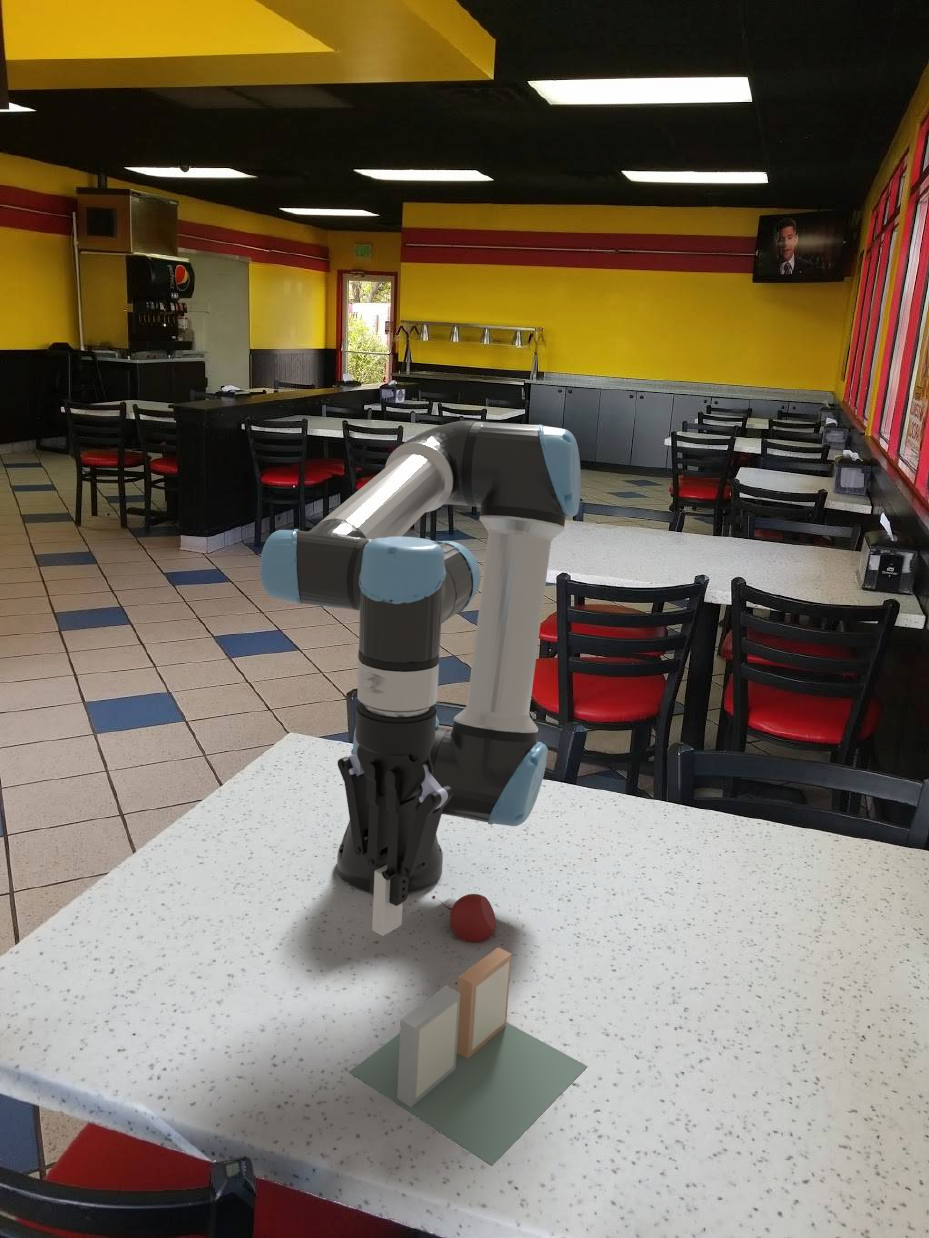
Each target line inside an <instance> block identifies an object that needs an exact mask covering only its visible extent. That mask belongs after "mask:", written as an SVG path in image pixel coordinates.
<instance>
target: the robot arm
mask: <svg viewBox="0 0 929 1238" xmlns="http://www.w3.org/2000/svg"><path fill="white" fill-rule="evenodd" d="M581 475H582V474H581V459H580V453H579V448H578V443H577V440H576V438H575V436H574V435H573V433H572V432H571V431H569V430H568V429H565V428H560V427H554V426H547V425H543V424H522V423H521V424H520V423H508V422H507V423H506V422H503V423H502V422H488V421H478V420H459V421H453V422H448V423H445V424H441V425H438V426H435V427H433V428H430V429H427V430H425V431H423V432H420V433H419V434H416V435H414V436H413V437H410V438H409V439H408V440H406V441H404V442H403V443H402V444H400V445H399V446H398V447H397V448H395V449H394V450H393V451H392V452H391V453H390V455H389V456H388V458H387V459H386V463H385V467H384V468H383V469H382V470H381V471H380V472H379V473H377V474H376V475H375V476H374V477H373V478H371V479H370V480H368V482H367V483H365V484H364V485H363V486H362V487H361V488H359V489H358V490H356V492H355V493H354V494H352V495H350V497H349V498H347V499H346V500H345V501H344V502H342V504H340V505H339V506H337V508H335V509H334V510H333V511H332V512H330V513H329V514H328V515H327V516H326V517H324V518H323V519H322V520H321V521H320V522H318V523H317V525H315V526H314V527H312V528H311V529H310V530H309V531H304V530H300V528H299V529H298V528H295V529H279V530H276V531H274V532H273V533H271V534H270V535H269V536H268V538H267V540H266V541H265V543H264V545H263V548H262V550H261V554H260V560H259V563H260V564H259V570H260V577H261V578H260V582H261V585H262V586H263V589H264V591H265V592H266V593H267V594H268V595H269V596H270V598H271V597H272V598H273V599H276V600H281V601H286V602H290V603H291V602H292V603H296V604H298V605H310V606H311V605H312V606H320V607H328V608H333V609H335V608H337V609H345V610H353V611H359V623H358V625H359V629H358V631H359V632H358V633H359V636H358V639H359V640H358V655H357V656H358V657H357V658H358V662H357V663H358V665H357V671H358V672H357V693H356V694H357V700H358V701H359V704H358V705H357V706H356V710H355V711H356V713H355V728H354V732H353V742H352V743H353V744H352V748H351V751H350V754H349V755H347V756H346V755H345V756H344V757H341V758H339V759H338V760H337V768H338V769H339V773H340V774H341V777H342V780H343V782H344V788H345V789H344V790H345V795H346V801H347V802H346V803H347V809H348V815H349V816H348V817H349V821H348V824H347V826H346V828H345V832H344V834H343V837H342V840H341V843H340V845H339V847H338V849H337V850H338V851H337V857H336V858H337V859H336V860H337V863H336V864H337V865H336V870H337V873H338V876H340V878H341V879H342V880H343V881H344V882H345V883H346V884H347V885H350V886H352V887H354V888H355V889H358V890H361V891H364V892H368V893H370V895H372V896H373V900H372V901H373V903H372V923H371V924H372V925H371V926H372V927H371V929H372V930H371V931H372V932H375V933H377V934H379V935H381V937H382V936H386V935H387V934H389V933H391V932H392V931H394V930H395V929H397V928H399V927H400V926H402V919H403V903H405V902H406V901H407V899H408V898H409V894H411V893H414V892H418V891H422V890H424V889H426V888H428V887H430V886H432V885H433V884H434V883H435V882H437V881H438V880H439V878H440V877H441V875H442V873H443V859H444V855H443V849H442V847H441V845H440V843H439V840H438V836H437V831H438V828H439V825H440V822H441V818H442V815H444V816H445V815H447V816H452V817H456V818H462V819H467V820H471V821H476V822H477V821H478V822H482V823H487V824H488V825H490V826H492V825H500V826H501V825H502V826H508V827H509V826H510V827H518V826H521V825H523V823H525V822H526V821H527V820H528V818H529V816H530V815H531V813H532V810H533V809H534V806H535V804H536V802H537V798H538V795H539V793H540V789H541V786H542V783H543V779H544V775H545V771H546V767H547V762H548V760H547V758H548V752H549V751H548V750H549V749H548V746H547V745H546V744H544V743H543V742H542V741H538V735H539V727H538V726H537V725H536V723H535V721H533V719H532V718H531V715H530V708H531V702H532V700H531V699H532V692H533V684H534V678H535V669H536V662H537V656H538V655H537V654H538V645H539V639H540V638H539V637H540V629H541V624H542V623H541V621H542V616H543V608H544V599H545V591H546V586H547V585H546V583H547V577H548V569H549V560H550V552H551V545H552V541H553V540H554V538H556V537H557V536H558V535H560V534H561V533H562V532H563V531H564V530H565V524H566V517H568V518H571V517H575V516H576V515H578V512H579V508H580V502H581V493H582V492H581V491H582V489H581V488H582V481H581V479H582V477H581ZM443 505H454V506H455V505H456V506H468V507H473V508H474V507H475V508H480V512H479V521H480V523H481V524H482V526H484V528H485V530H487V533H488V535H487V545H486V551H485V552H486V553H485V560H484V566H483V567H484V568H483V575H482V576H483V577H482V584H481V570H480V566H479V563H478V561H477V559H476V557H475V556H474V554H473V553H472V552H471V550H470V549H468V548H467V546H464V545H462V544H461V543H458V542H456V541H452V540H442V541H440V540H432V539H427V538H421V537H415V536H414V537H413V536H404V535H405V534H406V532H407V531H408V530H409V529H410V528H412V526H414V524H415V523H416V522H418V520H419V519H421V517H422V516H423V515H424V514H425V513H428V512H429V513H430V512H432V511H436V510H437V509H439V508H441V507H442V506H443ZM480 584H481V591H480V598H479V599H480V601H479V607H478V614H477V623H476V630H475V637H474V638H475V639H474V647H473V654H472V663H471V668H470V669H471V671H470V676H469V677H470V678H469V684H468V685H469V686H468V691H467V692H468V694H467V701H466V706H465V707H464V709H463V710H462V711H460V712H459V713H458V714H456V715H455V716H454V717H453V723H452V728H445V727H440V726H439V725H440V720H439V719H438V716H437V708H436V707H435V706H434V705H435V704H437V702H438V699H439V698H438V696H439V695H438V694H439V677H440V676H439V673H440V650H441V649H440V648H441V634H442V633H441V631H442V624H444V623H445V622H446V621H447V620H449V619H450V618H452V617H453V616H455V615H457V614H458V615H459V614H460V613H461V612H463V611H464V610H465V608H468V605H469V604H470V603H471V602H472V600H473V599H474V598H475V596H476V594H477V593H478V591H479V588H480Z"/></svg>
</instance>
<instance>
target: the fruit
mask: <svg viewBox="0 0 929 1238" xmlns="http://www.w3.org/2000/svg"><path fill="white" fill-rule="evenodd" d="M431 898H432V900H435V899H436V896H435V895H433V896H431ZM438 901H439V902H440V903H441V905H443V906H444V907H445V908H446V909H448V910H450V914H449V925H450V928H451V931H452V933H453V934H454V935H455V936H456V937H457V938H458V939H459V940H461V941H463V942H467V943H482V942H485V941H487V940H489V939H490V938H491V937H492V936H493V935H494V933H495V931H496V929H497V919H496V918H497V917H496V914H495V912H494V908H493V906H492V904H491V903H490V901H489V900H488V898H487V897H486V896H484V895H482V894H478V893H469V894H465V895H463V896H461V897H459V898H458V899H457V900H456V901H455V903H454V904H453V905H452V908H451V907H450V906H447V905H446V904H444V903H443V902H442V901H440V899H438Z"/></svg>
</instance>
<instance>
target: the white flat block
mask: <svg viewBox="0 0 929 1238" xmlns="http://www.w3.org/2000/svg"><path fill="white" fill-rule="evenodd" d="M459 1006H460V993H459V992H458V990H456V989H454V988H451V987H450V986H448V985H444V987H442V988H441V989H440V990H438V991H437V992H436V993H434V994H433V995H432V996H430V997H429V998H428V999H426V1000H424V1001H423V1003H420V1005H418V1006H416V1007H415V1008H414V1009H413V1010H411V1011H410V1012H409V1013H407V1014H406V1015H404V1016H403V1017H402V1018H400V1029H399V1033H400V1046H399V1068H398V1090H397V1099H399V1100H400V1101H402V1102H404V1103H405V1104H407V1105H408V1106H410V1107H412V1106H413V1105H414V1104H415V1103H417V1102H418V1101H419V1100H420V1099H421V1098H422V1097H424V1096H425V1095H426V1094H427V1093H428V1092H429V1091H431V1090H432V1089H433V1088H434V1087H435V1086H436V1085H438V1084H439V1083H440V1082H441V1081H442V1080H443V1079H445V1078H446V1077H447V1076H448V1075H449V1074H450V1073H452V1072H453V1071H454V1070H455V1069H456V1054H457V1038H458V1022H459Z"/></svg>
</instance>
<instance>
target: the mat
mask: <svg viewBox="0 0 929 1238" xmlns="http://www.w3.org/2000/svg"><path fill="white" fill-rule="evenodd" d="M399 1046H400V1032H399V1033H398V1034H397V1035H395V1036H394V1037H393V1038H391V1039H390V1040H389V1041H388V1042H386V1043H384V1045H382V1046H380V1047H379V1048H378V1049H376V1051H374V1052H372V1054H370V1055H369V1056H367V1057H366V1058H365V1059H363V1060H362V1061H361V1062H360V1063H358V1064H357V1065H355V1066H354V1067H353V1068H352V1069H351V1070H348V1073H349V1074H351V1075H352V1076H353V1077H356V1078H357V1079H359V1081H361V1082H363V1083H365V1084H366V1085H367V1086H369V1087H371V1088H373V1089H374V1090H375V1091H377V1092H378V1093H380V1094H381V1095H383V1096H384V1097H386V1098H387V1099H389V1100H391V1101H392V1102H394V1103H395V1104H397V1105H398V1106H399V1107H401V1108H403V1109H404V1110H406V1111H408V1113H411V1114H412V1115H414V1116H415V1117H416V1118H418V1119H420V1120H421V1121H422V1122H424V1123H426V1124H427V1125H429V1126H430V1127H432V1128H433V1129H435V1130H436V1131H437V1132H439V1133H441V1134H443V1135H444V1136H446V1137H447V1138H449V1139H450V1140H452V1141H453V1142H454V1143H457V1144H458V1145H459V1146H461V1147H462V1148H464V1149H466V1151H468V1152H469V1153H471V1154H472V1155H474V1156H476V1157H477V1158H479V1159H481V1160H482V1161H484V1162H485V1163H487V1164H488V1165H490V1166H491V1167H493V1165H494V1164H495V1163H497V1161H498V1160H499V1159H500V1158H501V1157H502V1156H503V1155H504V1154H505V1153H506V1152H508V1150H509V1149H510V1148H511V1147H512V1146H513V1145H514V1144H515V1142H516V1141H518V1140H519V1138H520V1137H522V1135H523V1134H524V1133H526V1131H527V1130H528V1129H529V1128H530V1127H531V1126H532V1125H533V1124H534V1123H535V1122H536V1121H537V1120H538V1119H539V1118H540V1117H541V1116H542V1115H543V1113H544V1112H546V1110H547V1109H549V1108H550V1106H551V1105H552V1104H553V1103H554V1102H555V1101H556V1100H557V1099H558V1098H559V1097H560V1096H561V1095H562V1094H563V1093H564V1092H565V1091H566V1090H567V1089H568V1088H569V1087H570V1085H571V1084H572V1083H573V1082H574V1081H576V1080H577V1078H578V1077H579V1076H580V1075H581V1074H582V1073H583V1072H584V1071H585V1070H586V1069H587V1068H589V1067H588V1065H587V1064H584V1063H583V1062H581V1061H579V1060H577V1059H575V1058H573V1057H571V1056H569V1055H568V1054H566V1053H564V1052H562V1051H560V1050H558V1049H557V1048H555V1047H553V1046H551V1045H550V1044H547V1043H546V1042H544V1041H542V1040H540V1039H538V1038H537V1037H534V1036H533V1035H531V1034H529V1033H528V1032H525V1031H524V1030H522V1029H520V1028H518V1027H516V1026H514V1025H513V1024H510V1023H508V1022H507V1021H506V1026H505V1027H504V1028H503V1029H502V1030H500V1031H499V1032H498V1033H497V1034H496V1035H495V1036H493V1037H492V1038H491V1039H490V1040H489V1041H488V1042H486V1043H485V1044H484V1045H483V1046H482V1047H481V1048H479V1049H478V1050H477V1051H476V1052H475V1053H474V1054H472V1055H471V1056H470V1057H469V1058H468V1059H467V1058H465V1057H463V1056H462V1055H460V1054H458V1053H457V1054H456V1069H455V1070H454V1071H453V1072H452V1073H450V1074H449V1075H448V1076H447V1077H446V1078H445V1079H443V1080H442V1081H441V1082H440V1083H439V1084H438V1085H436V1086H435V1087H434V1088H433V1089H432V1090H431V1091H429V1092H428V1093H427V1094H426V1095H425V1096H424V1097H422V1098H421V1099H420V1100H419V1101H418V1102H417V1103H415V1104H414V1105H413V1106H412V1107H410V1106H408V1105H407V1104H405V1103H404V1102H402V1101H400V1100H399V1099H397V1090H398V1068H399Z"/></svg>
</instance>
